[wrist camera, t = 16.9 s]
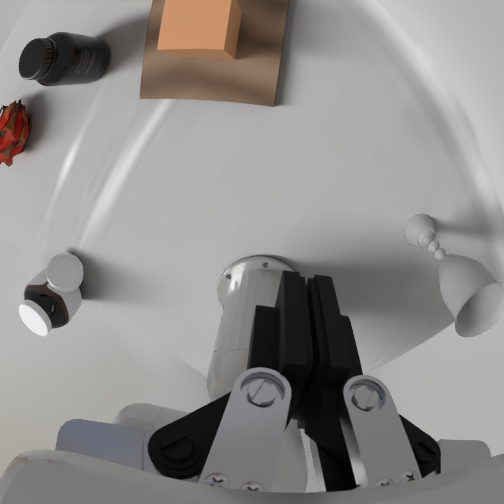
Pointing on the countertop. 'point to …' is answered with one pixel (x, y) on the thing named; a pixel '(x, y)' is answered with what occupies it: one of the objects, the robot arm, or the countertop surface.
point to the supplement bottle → (64, 59)
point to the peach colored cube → (200, 29)
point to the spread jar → (53, 295)
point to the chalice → (460, 282)
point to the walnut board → (220, 60)
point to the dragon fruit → (13, 131)
